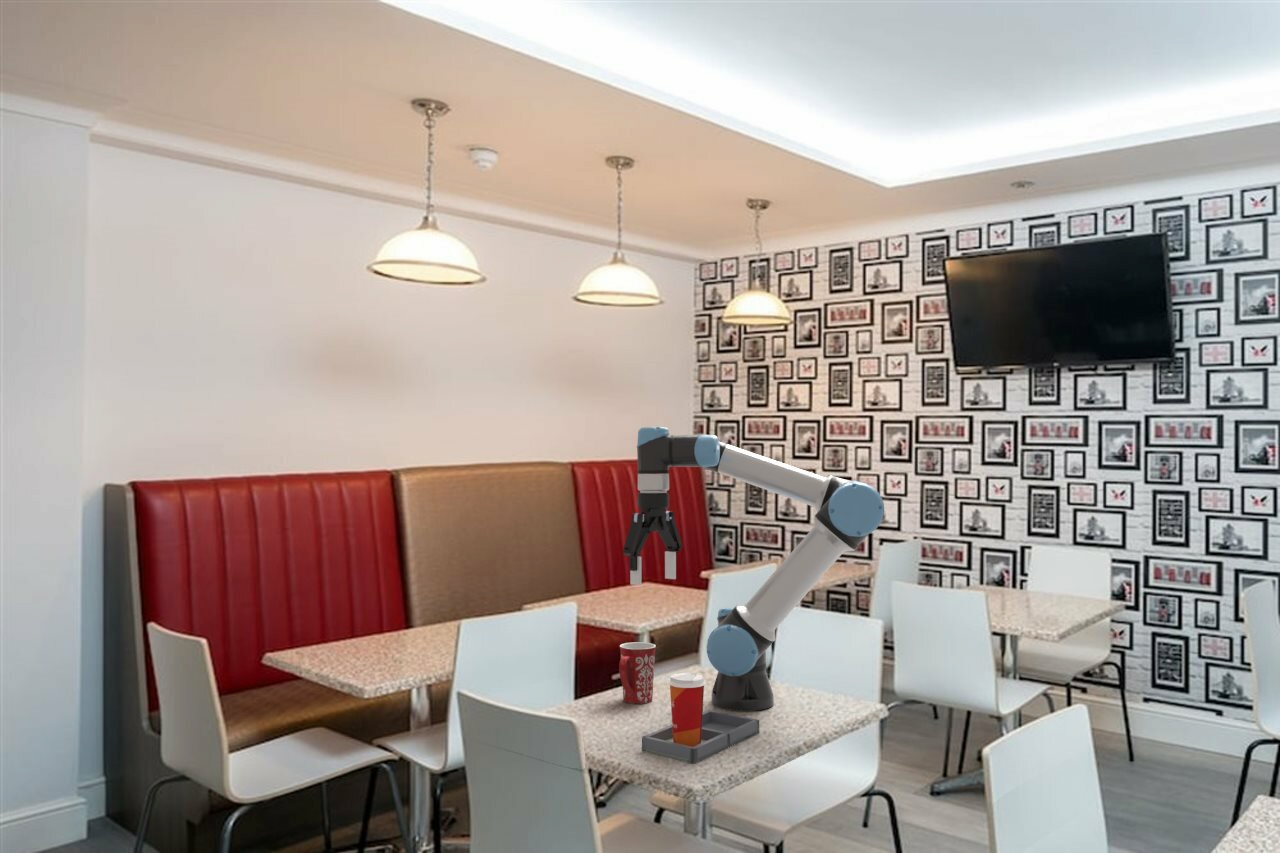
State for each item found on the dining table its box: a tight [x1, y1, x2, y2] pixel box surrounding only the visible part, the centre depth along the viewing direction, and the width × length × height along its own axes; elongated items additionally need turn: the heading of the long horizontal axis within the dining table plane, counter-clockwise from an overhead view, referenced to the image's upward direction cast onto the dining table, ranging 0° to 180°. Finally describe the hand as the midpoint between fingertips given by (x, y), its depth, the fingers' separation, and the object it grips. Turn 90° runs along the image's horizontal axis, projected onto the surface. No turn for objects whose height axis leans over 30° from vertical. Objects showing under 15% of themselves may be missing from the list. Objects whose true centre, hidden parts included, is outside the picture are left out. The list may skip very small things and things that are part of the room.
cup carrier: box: [641, 709, 760, 765], centre depth 187 cm, size 25×13×3 cm, turn 142°
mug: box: [618, 641, 657, 704], centre depth 218 cm, size 13×9×14 cm
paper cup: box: [667, 672, 706, 747], centre depth 182 cm, size 8×8×14 cm
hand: (653, 581), depth 209 cm, fingers open, 13 cm apart
